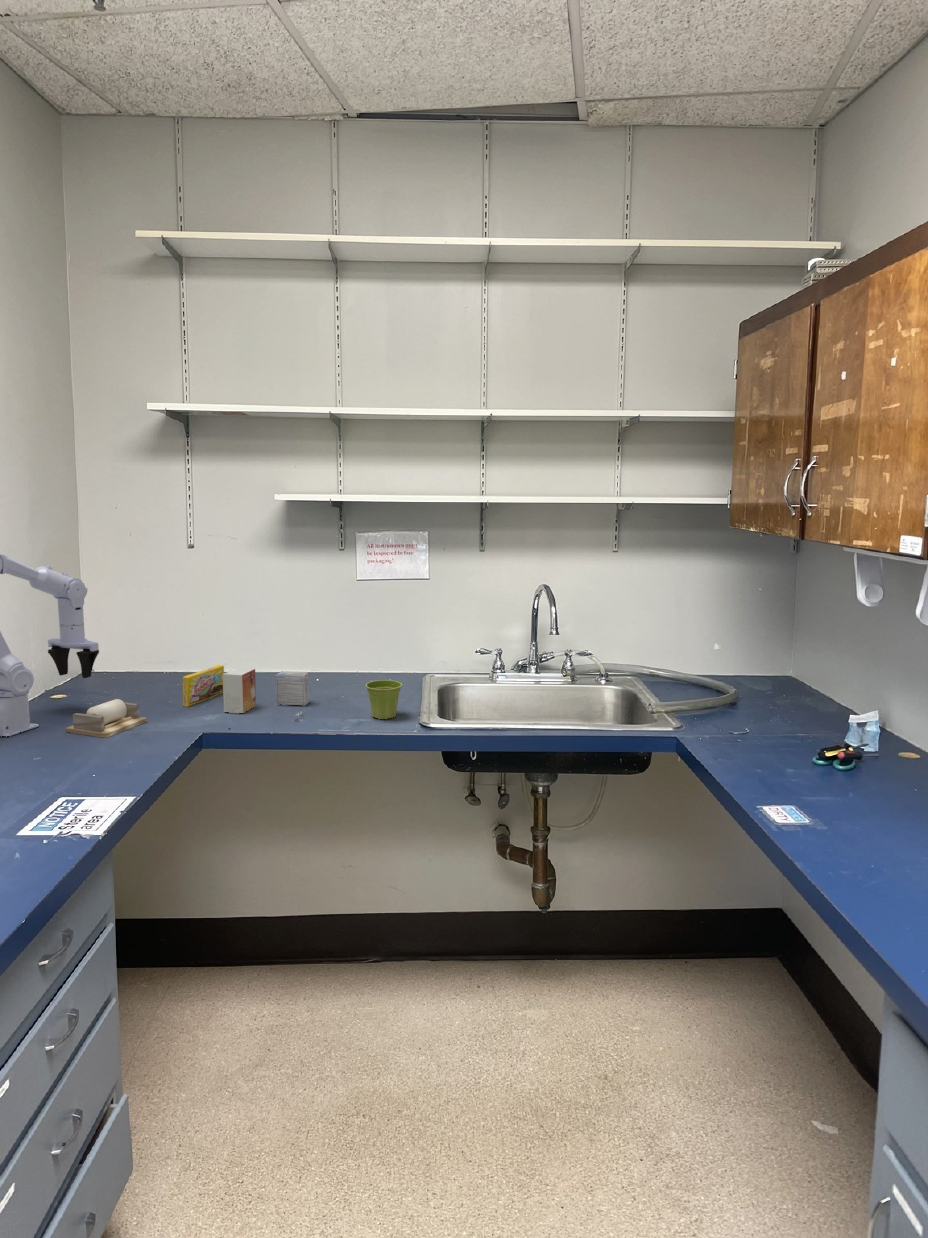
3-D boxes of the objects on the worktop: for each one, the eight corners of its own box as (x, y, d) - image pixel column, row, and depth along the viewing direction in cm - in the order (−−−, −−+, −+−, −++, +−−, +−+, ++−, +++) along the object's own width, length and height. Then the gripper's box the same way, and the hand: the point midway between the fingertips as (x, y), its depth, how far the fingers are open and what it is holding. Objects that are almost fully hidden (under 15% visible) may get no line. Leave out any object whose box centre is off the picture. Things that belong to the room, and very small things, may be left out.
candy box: (189, 707, 218) (187, 677, 216) (182, 706, 218) (181, 676, 217) (225, 693, 233) (224, 664, 231) (218, 692, 233) (217, 664, 232)
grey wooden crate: (309, 702, 224) (309, 671, 223) (304, 706, 220) (304, 675, 218) (281, 701, 225) (281, 670, 223) (276, 705, 220) (275, 674, 219)
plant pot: (396, 723, 206) (396, 690, 204) (360, 720, 208) (360, 687, 206) (406, 713, 215) (406, 681, 214) (372, 710, 217) (372, 678, 215)
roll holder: (106, 737, 191) (105, 719, 190) (65, 732, 195) (64, 714, 194) (147, 721, 204) (146, 704, 203) (108, 716, 208) (107, 699, 207)
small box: (243, 714, 212) (241, 675, 210) (223, 713, 213) (221, 673, 211) (256, 706, 219) (255, 668, 218) (237, 705, 220) (236, 667, 219)
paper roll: (103, 728, 195) (102, 708, 194) (86, 726, 196) (85, 706, 195) (127, 719, 202) (126, 700, 201) (111, 717, 204) (110, 698, 203)
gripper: (106, 623, 210) (109, 675, 212) (61, 619, 215) (65, 670, 217) (85, 628, 203) (88, 681, 206) (39, 624, 208) (43, 676, 210)
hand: (75, 676), depth 211 cm, fingers open, 7 cm apart
